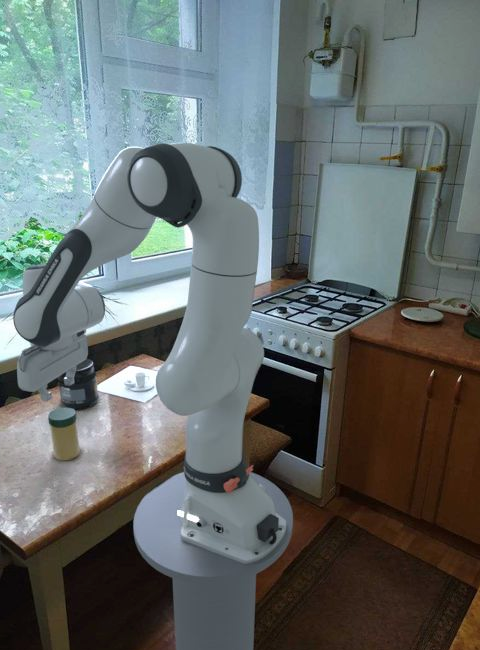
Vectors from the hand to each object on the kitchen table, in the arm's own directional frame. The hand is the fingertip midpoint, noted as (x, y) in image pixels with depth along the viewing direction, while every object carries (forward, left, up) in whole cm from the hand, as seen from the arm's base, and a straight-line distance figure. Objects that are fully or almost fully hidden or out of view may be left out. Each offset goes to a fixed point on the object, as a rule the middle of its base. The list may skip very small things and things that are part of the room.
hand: (58, 391), depth 114 cm
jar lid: (0, 0, -6) cm, 6 cm away
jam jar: (0, 0, -17) cm, 17 cm away
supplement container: (+20, -18, -17) cm, 32 cm away
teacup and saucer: (+17, -37, -17) cm, 44 cm away
